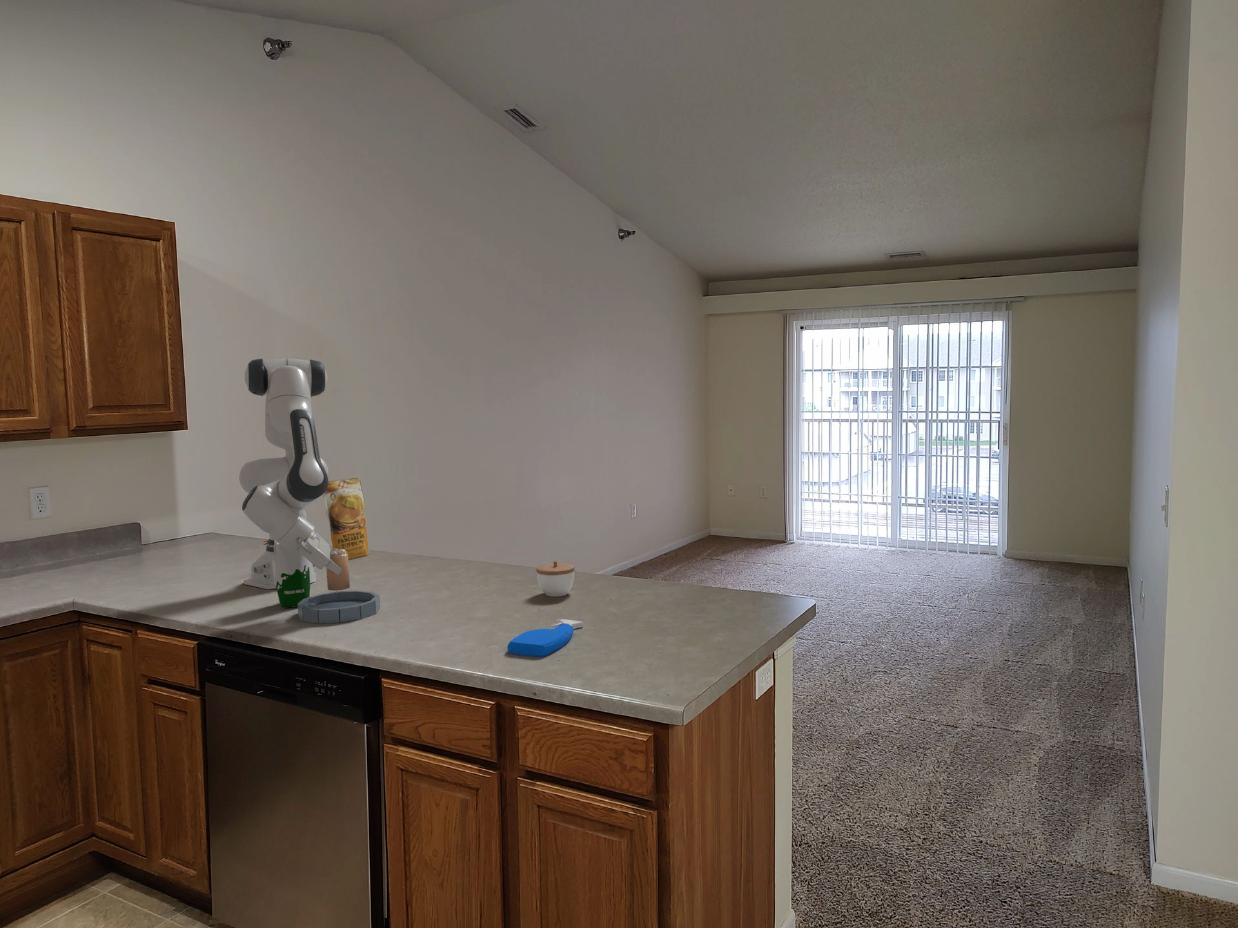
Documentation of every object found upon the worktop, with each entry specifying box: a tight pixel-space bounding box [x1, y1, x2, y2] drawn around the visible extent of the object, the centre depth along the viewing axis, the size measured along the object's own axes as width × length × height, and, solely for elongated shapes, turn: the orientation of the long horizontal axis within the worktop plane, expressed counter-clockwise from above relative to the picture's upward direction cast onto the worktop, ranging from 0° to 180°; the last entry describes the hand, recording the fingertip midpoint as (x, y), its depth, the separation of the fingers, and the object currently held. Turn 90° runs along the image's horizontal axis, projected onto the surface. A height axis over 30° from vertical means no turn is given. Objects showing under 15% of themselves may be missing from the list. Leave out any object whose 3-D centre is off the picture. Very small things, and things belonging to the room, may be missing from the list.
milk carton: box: [274, 540, 311, 610], centre depth 231 cm, size 9×9×20 cm
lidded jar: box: [535, 560, 576, 598], centre depth 236 cm, size 11×11×9 cm
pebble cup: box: [325, 548, 351, 592], centre depth 221 cm, size 6×6×10 cm
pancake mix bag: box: [322, 477, 370, 561], centre depth 295 cm, size 7×19×28 cm, turn 149°
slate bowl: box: [297, 590, 381, 625], centre depth 222 cm, size 20×20×4 cm
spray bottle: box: [506, 618, 584, 658], centre depth 193 cm, size 3×11×24 cm
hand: (340, 569), depth 221 cm, fingers closed on pebble cup, 6 cm apart
